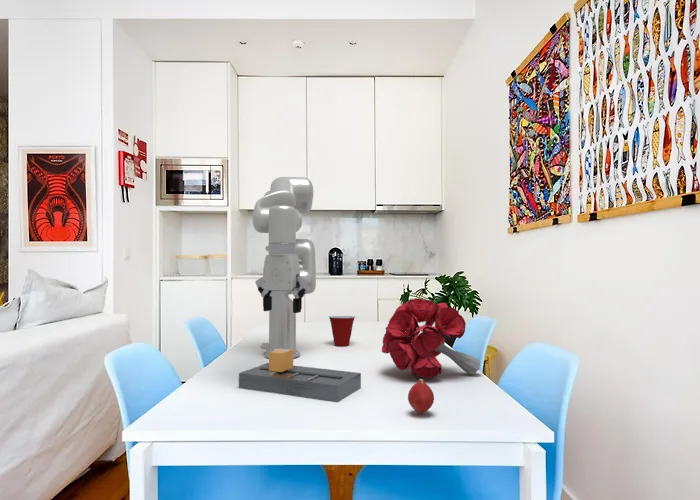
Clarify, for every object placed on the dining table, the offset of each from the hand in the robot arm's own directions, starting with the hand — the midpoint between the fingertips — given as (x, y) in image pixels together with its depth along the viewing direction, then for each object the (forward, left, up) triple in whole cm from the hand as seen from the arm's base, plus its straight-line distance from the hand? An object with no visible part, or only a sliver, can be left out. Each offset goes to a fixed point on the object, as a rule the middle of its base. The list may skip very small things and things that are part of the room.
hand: (282, 311), depth 133 cm
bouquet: (+35, +28, -21) cm, 49 cm away
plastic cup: (-11, +60, -21) cm, 65 cm away
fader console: (+6, -1, -20) cm, 21 cm away
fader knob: (0, -1, -16) cm, 16 cm away
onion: (+42, -8, -21) cm, 47 cm away
